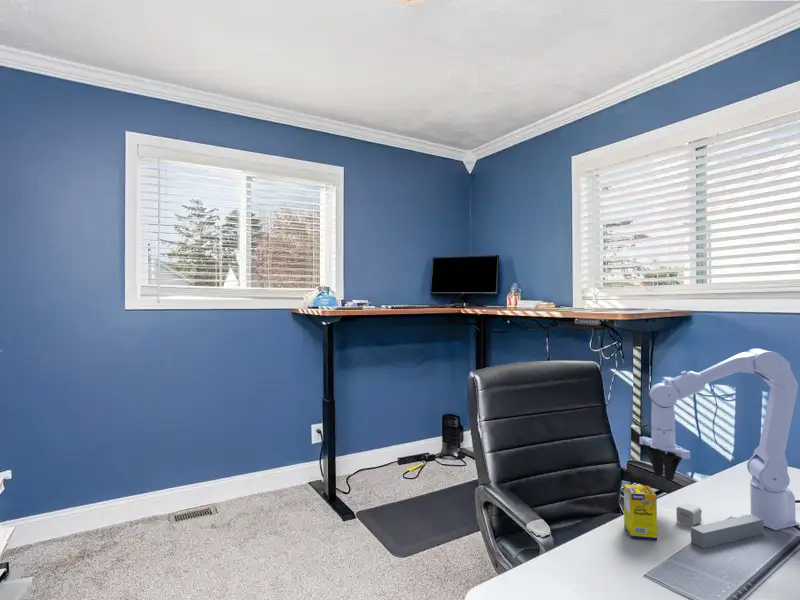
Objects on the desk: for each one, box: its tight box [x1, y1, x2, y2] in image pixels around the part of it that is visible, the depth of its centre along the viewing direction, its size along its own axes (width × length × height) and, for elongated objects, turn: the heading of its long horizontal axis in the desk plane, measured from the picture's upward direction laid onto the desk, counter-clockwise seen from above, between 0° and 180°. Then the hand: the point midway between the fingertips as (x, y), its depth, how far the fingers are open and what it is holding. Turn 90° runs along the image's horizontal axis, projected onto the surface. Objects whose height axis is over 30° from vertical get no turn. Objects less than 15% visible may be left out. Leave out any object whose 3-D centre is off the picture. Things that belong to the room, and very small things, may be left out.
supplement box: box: [623, 484, 658, 542], centre depth 112 cm, size 6×6×11 cm
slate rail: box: [690, 514, 765, 549], centre depth 110 cm, size 20×3×4 cm, turn 109°
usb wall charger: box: [675, 502, 703, 528], centre depth 119 cm, size 4×7×4 cm, turn 125°
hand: (664, 477), depth 126 cm, fingers open, 3 cm apart
